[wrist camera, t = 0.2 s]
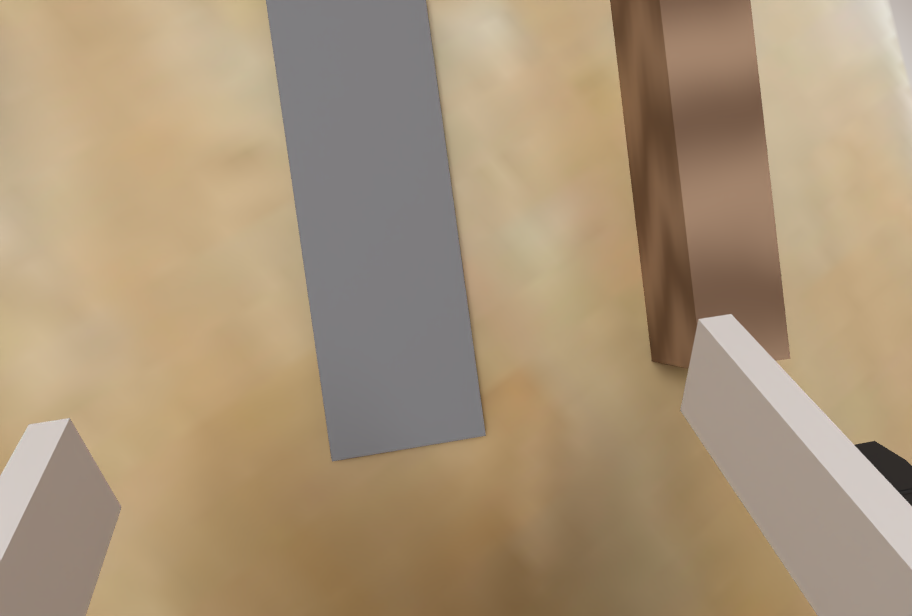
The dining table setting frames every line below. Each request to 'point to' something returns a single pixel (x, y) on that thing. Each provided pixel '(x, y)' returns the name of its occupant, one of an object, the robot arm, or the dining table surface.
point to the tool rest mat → (376, 223)
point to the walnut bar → (699, 171)
